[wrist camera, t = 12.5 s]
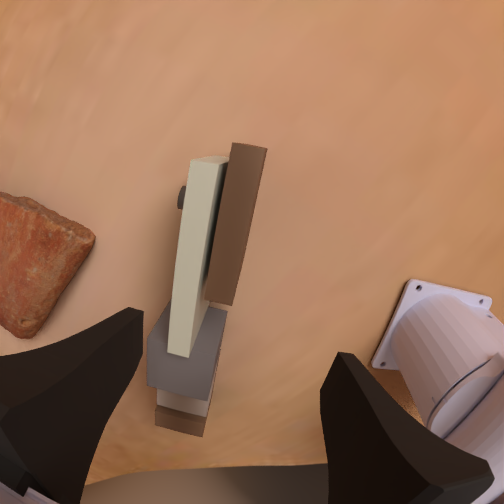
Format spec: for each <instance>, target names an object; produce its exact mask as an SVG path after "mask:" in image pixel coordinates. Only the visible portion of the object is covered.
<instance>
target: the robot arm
mask: <svg viewBox="0 0 504 504" xmlns="http://www.w3.org/2000/svg"><path fill="white" fill-rule="evenodd" d="M418 285H420V287H419V288H418V289H416V287H417V286H418ZM480 300H481V301H480ZM479 301H480V302H479ZM491 304H492V299H491V298H490V297H489V296H485V295H481V294H477V293H472V292H468V291H464V290H460V289H455V288H451V287H447V286H442V285H438V284H434V283H430V282H425V281H421V280H417V279H411V280H409V281H408V282H407V284H406V286H405V289H404V291H403V293H402V296H401V298H400V301H399V303H398V305H397V308H396V310H395V312H394V315H393V317H392V319H391V321H390V324H389V326H388V328H387V330H386V332H385V335H384V337H383V339H382V341H381V343H380V345H379V347H378V349H377V351H376V353H375V355H374V357H373V359H372V361H371V364H372V367H373V368H379V369H389V370H400V372H401V374H402V376H403V379H404V381H405V383H406V385H407V387H408V389H409V392H410V394H411V396H412V398H413V400H414V403H415V405H416V407H417V410H418V412H419V414H420V416H421V419H422V421H423V424H424V426H425V427H424V426H423V425H422V424H420V423H419V422H418V421H417V420H416V419H414V418H413V417H412V416H411V415H410V414H408V413H407V412H406V411H405V410H404V409H403V408H402V407H401V406H400V405H399V404H398V403H397V402H396V401H395V400H394V399H393V398H392V397H391V396H390V395H389V394H388V393H387V392H386V391H385V390H384V388H383V387H382V386H381V385H380V384H379V383H378V382H377V381H376V379H375V378H374V377H373V376H372V375H371V374H370V372H369V371H368V370H367V369H366V368H365V367H364V365H363V364H362V363H361V362H360V361H359V360H358V359H357V358H356V356H355V355H354V354H351V353H344V352H338V353H337V355H336V357H335V359H334V362H333V364H332V366H331V368H330V370H329V373H328V375H327V377H326V379H325V381H324V383H323V385H322V387H321V389H320V414H321V421H322V427H323V434H324V440H325V446H326V453H327V459H328V469H329V497H328V504H504V325H503V324H502V323H501V322H500V321H499V320H498V319H497V318H496V317H495V316H494V315H493V314H492V313H491V312H490V311H489V308H490V306H491ZM143 313H144V311H141V310H137V309H134V308H130V307H128V308H126V309H124V310H122V311H120V312H118V313H116V314H114V315H112V316H111V317H109V318H107V319H105V320H103V321H101V322H99V323H98V324H96V325H94V326H92V327H90V328H88V329H86V330H84V331H81V332H79V333H77V334H75V335H73V336H71V337H69V338H66V339H64V340H61V341H59V342H56V343H53V344H50V345H47V346H44V347H41V348H38V349H34V350H30V351H25V352H21V353H17V354H11V355H5V356H0V504H80V500H81V496H82V492H83V488H84V484H85V481H86V478H87V474H88V471H89V468H90V465H91V462H92V459H93V456H94V453H95V451H96V448H97V445H98V443H99V440H100V438H101V435H102V433H103V430H104V428H105V425H106V423H107V421H108V419H109V417H110V416H111V414H112V412H113V410H114V409H115V407H116V405H117V403H118V402H119V400H120V398H121V397H122V395H123V393H124V391H125V390H126V388H127V386H128V385H129V383H130V381H131V379H132V378H133V376H134V374H135V371H136V369H137V367H138V364H139V362H140V359H141V357H142V354H143ZM382 362H384V363H383V364H381V363H382Z"/></svg>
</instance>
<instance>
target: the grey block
mask: <svg viewBox="0 0 504 504" xmlns="http://www.w3.org/2000/svg"><path fill="white" fill-rule="evenodd" d="M171 301H172V298H171V300H170V302H169V303H168V305H167V306H166V308H165V310H164V311H163V313H162V315H161V316H160V318H159V319H158V321H157V323H156V324H155V326H154V328H153V329H152V331H151V333H150V334H149V336H148V338H147V386H150V387H154V388H157V389H161V390H164V391H168V392H171V393H175V394H179V395H183V396H187V397H191V398H195V399H199V400H203V401H208V397H209V393H210V389H211V385H212V381H213V377H214V373H215V369H216V365H217V361H218V357H219V352H220V347H221V342H222V337H223V332H224V327H225V321H226V316H227V311H225V310H221V309H217V308H212V307H208V308H207V311H206V313H205V316H204V319H203V321H202V324H201V327H200V329H199V332H198V334H197V337H196V340H195V342H194V345H193V348H192V350H191V353H190V356H189V358H187V357H183V356H179V355H176V354H172V353H168V352H167V350H168V336H169V323H170V312H171Z"/></svg>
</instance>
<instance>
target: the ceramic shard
mask: <svg viewBox="0 0 504 504" xmlns="http://www.w3.org/2000/svg"><path fill="white" fill-rule="evenodd" d="M94 241H95V235H94V233H93V232H92V231H91V230H90V229H88V228H86V227H84V226H83V225H81V224H79V223H77V222H75V221H71V220H69V219H67V218H65V217H63V216H60V215H59V214H58V213H56V212H55V211H52V210H49V209H47V208H46V207H44V206H43V205H41V204H39V203H38V202H36V201H34V200H33V199H31V198H28V197H13V196H11V195H9V194H8V193H4V192H0V325H1V326H3V327H4V328H5V329H6V330H8V331H9V332H11V333H12V334H13V335H14V336H15V337H17V338H20V339H30V338H32V337H34V336H35V334H36V333H37V332H38V330H39V329H40V328H41V326H42V325H43V323H44V322H45V320H46V318H47V317H48V315H49V313H50V311H51V309H52V308H53V307H54V305H55V304H56V302H57V300H58V297H59V295H60V294H61V292H62V291H63V290H64V289H65V287H66V286H67V285H68V283H69V282H70V280H71V279H72V277H73V276H74V274H75V273H76V271H77V270H78V268H79V267H80V265H81V264H82V262H83V261H84V259H85V258H86V256H87V255H88V253H89V252H90V250H91V248H92V246H93V244H94Z"/></svg>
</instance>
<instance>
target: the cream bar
mask: <svg viewBox="0 0 504 504" xmlns="http://www.w3.org/2000/svg"><path fill="white" fill-rule="evenodd" d="M228 162H229V157H224V156H219V155H215V156H209V157H203V158H198V159H192V160H191V163H190V168H189V174H188V180H187V186H182V188H181V190H180V193H179V196H178V209H183V212H182V219H181V226H180V233H179V240H178V248H177V256H176V264H175V273H174V282H173V291H172V301H171V312H170V323H169V336H168V350H167V352H168V353H172V354H176V355H179V356H183V357H187V358H189V356H190V353H191V350H192V348H193V345H194V342H195V340H196V337H197V334H198V332H199V329H200V327H201V324H202V321H203V319H204V316H205V313H206V311H207V308H208V306H209V303H210V301H208V300H204V296H205V290H206V284H207V278H208V272H209V266H210V260H211V254H212V248H213V242H214V236H215V231H216V225H217V220H218V214H219V209H220V203H221V198H222V193H223V187H224V182H225V177H226V172H227V167H228Z"/></svg>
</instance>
